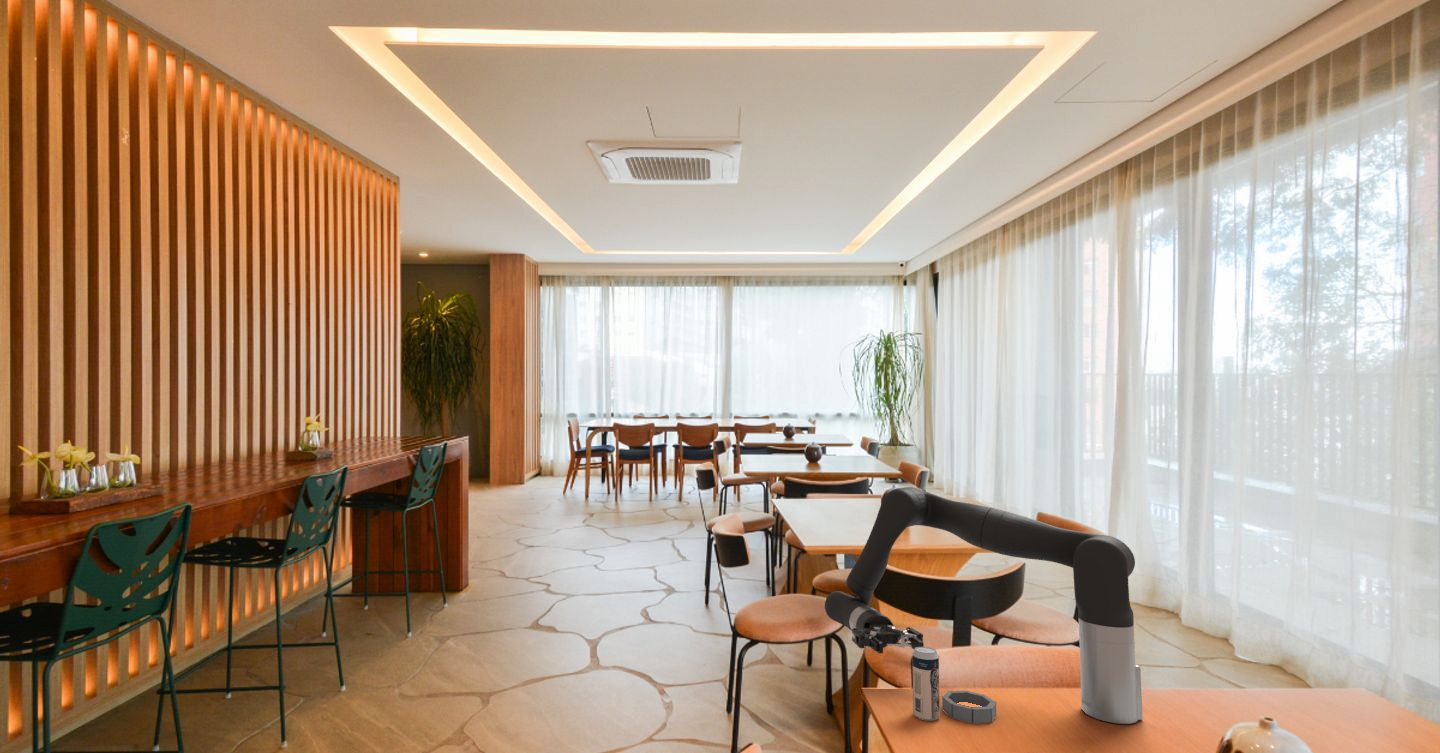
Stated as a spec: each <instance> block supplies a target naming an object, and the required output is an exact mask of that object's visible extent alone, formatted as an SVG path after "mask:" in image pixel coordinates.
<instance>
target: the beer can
mask: <svg viewBox="0 0 1440 753" xmlns="http://www.w3.org/2000/svg"><path fill="white" fill-rule="evenodd" d="M911 654H912V706H913V707H912V714H913V715H914V716H915V717H918V718H917V719H919V718H920V719H919V720H921V719H923V720H922V721H925V720H926V722H934V721H936V720H937V719H939V718H940V717H941V715H940V714H941V713H940V711H941V708H940V655H939V654H938V652H937V650H936V649H934V648H933V647H928V646H924V647H916V648H915V649H913V651H912V653H911Z"/></svg>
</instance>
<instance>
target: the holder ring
mask: <svg viewBox="0 0 1440 753" xmlns="http://www.w3.org/2000/svg"><path fill="white" fill-rule="evenodd" d="M941 700H942V701H941V702H942V703H941V704H942V705H941V707H942V709H943V710H944V711H945V712H946V713H947V714H948V715H949V718H951V719H953V720H958V721H961V722H964V723H969V724H974V725H977V724H978V725H979V724H992V723H993V722H994V721H995V720H996V718H997V717H996V716H998V715H997V714H998V713H997V712H998V711H997V702H996V701H995V700H993V699H992V698H990V697H989V696H988V695H985V694H981V693H977V692H974V691H969V690H948V691H946V692H945V693H944V694H943V695H942V697H941ZM959 702H968V703H972V704H976V705H980V706H982V707H969V706H965V705H961V704H957V703H959ZM942 709H941V710H942ZM943 710H942V711H943ZM944 711H943V712H944ZM945 712H944V713H945ZM946 713H945V714H946ZM947 714H946V715H947ZM948 715H947V716H948ZM995 717H996V718H995ZM994 719H995V720H994Z"/></svg>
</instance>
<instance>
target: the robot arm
mask: <svg viewBox="0 0 1440 753" xmlns="http://www.w3.org/2000/svg"><path fill="white" fill-rule="evenodd" d="M914 526H923V527H930V528H933V529H939V530H942V531H946V532H948V533H951V534H952V535H954V536H957V537H958V538H960V539H961V540H962V541H964V542H967V543H968V544H970V545H972V546H974V547H976V548H979V549H983V550H986V551H988V552H992V553H995V554H999V555H1002V556H1009V557H1012V558H1021V559H1027V560H1036V561H1046V562H1051V563H1055V564H1056V563H1057V564H1060V565H1062V566H1066V567H1068V568H1072V570H1073V586H1074V587H1073V588H1074V589H1073V590H1074V600H1075V604H1076V607H1077V611H1078V614H1077V615H1078V636H1079V637H1078V638H1079V639H1078V641H1079V666H1080V672H1079V673H1080V674H1079V675H1080V698H1081V702H1080V703H1081V710H1083V711H1084V712H1085V714H1086V715H1087V716H1089V717H1091V718H1094V719H1096V720H1100V721H1103V722H1108V723H1112V724H1120V725H1130V724H1134V723H1137V722H1138V721H1142V720H1143V718H1144V716H1143V696H1142V694H1143V693H1142V674H1141V672H1142V671H1141V667H1140V666H1139V665H1138V664H1136V647H1135V646H1136V642H1135V624H1134V623H1135V622H1134V611H1133V609H1132V606H1131V602H1130V590H1129V589H1130V588H1129V576H1130V575H1131V574H1132V573H1133V571H1134V569H1135V567H1136V566H1135V565H1136V559H1135V555H1134V553H1133V551H1132V550H1131V549H1130V547H1129V546H1128V545H1127V544H1126V543H1125V542H1124V541H1122V540H1120V539H1119V538H1116V537H1114V536H1111V535H1106V534H1098V533H1097V534H1096V533H1091V532H1089V533H1088V532H1084V531H1079V530H1072V529H1067V528H1062V527H1058V526H1056V525H1055V526H1054V525H1051V524H1048V523H1045V522H1043V521H1040V520H1036V519H1034V518H1030V517H1027V516H1024V515H1020V514H1017V513H1014V512H1011V511H1010V512H1009V511H1006V510H1002V509H997V508H995V507H988V506H984V505H979V504H975V503H969V502H962V501H955V500H952V499H948V498H945V497H942V496H940V495H936V494H934V493H931V492H928V491H925V490H923V489H921V488H917V487H914V486H913V487H912V486H906V487H898V488H897V487H896V488H894V489H891V490H890V491H888V492H887V493H886V494H885V496H884V497H883V499H882V502H881V504H880V506H879V510H878V513H877V515H876V518H875V521H874V523H873V526H872V529H871V531H870V534H869V536H868V538H867V540H866V543H865V544H864V547H863V548H862V551H861V553H859V554H860V555H859V556H858V558H857V560H856V561H855V563H854V565H853V566H852V569H851V571H850V572H849V573H848V575H847V577H846V581H845V582H846V586H847V588H848V589H849V590H850V591H851V592H852V593H853V594H855V595H856V596H853V595H851V594H849V593H846V592H843V591H840V590H833V591H832V592H830V593H829V594H828V595H827V596H826V598H825V601H824V610H825V613H826V615H827V617H828V618H829V619H830V620H832V621H834V622H836V623H839V624H840V625H843V627H846V628H848V629H849V630H850V631H851V641H852V642H853V643H854V644H855V645H856V646H857V647H858V648H860V649H864V648H865V647H867V648H868V649H869V650H873V651H874V652H876V653H878V654H884V649H885V648H887V647H888V646H890V647H893V646H894V647H898V648H902V649H903V648H906V647H908V648H911V649H913V650H914V649H915V648H916V647H925V644H924V634H923V633H922V632H919V631H918V630H916V629H914V628H912V627H910V626H907V627H905V628H906V629H902V628H899V627H895V626H894V624H893V622H892V620H891V618H889V617H888V616H886V615H885V614H883V613H882V612H880V611H878V610H877V609H875V608H874V607H870V603H871V601H872V597H873V594H874V591H875V590H876V588H877V587H878V584H879V583H880V582H881V579H882V577H883V576H884V574H885V572H886V569H887V568H888V567H887V566H888V563H889V557H890V555H891V551H892V548H893V546H894V544H895V542H896V541H897V540H898V538H899V537H901V534H902V533H903V532H904V531H905V530H906V529H907V528H908V527H914ZM1083 711H1082V712H1083ZM1084 712H1083V713H1084Z"/></svg>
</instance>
